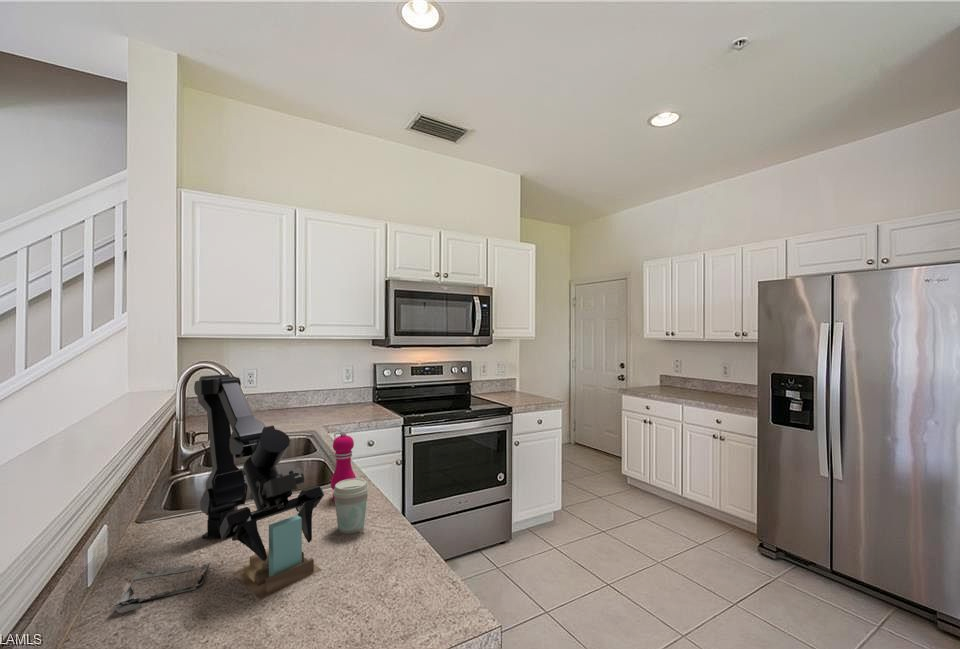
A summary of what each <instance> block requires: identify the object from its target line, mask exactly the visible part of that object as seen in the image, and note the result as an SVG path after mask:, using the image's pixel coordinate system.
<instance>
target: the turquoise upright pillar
mask: <svg viewBox="0 0 960 649" xmlns="http://www.w3.org/2000/svg"><path fill="white" fill-rule="evenodd" d="M302 537H303V531H302V518H301V517H299V516H298V514H297V515H293V516H291V517H288V518H285V519H281V520H279V521H277V522H273V523H270V524H269V525H268V548H269V577H270V576H273V575H275V574H277V573H279V572H282V571H284V570H286V569H288V568H291V567H293V566H295V565H297V564H300V563H302V552H303V548H302V547H303V546H302V545H303V542H302V541H303V539H302Z"/></svg>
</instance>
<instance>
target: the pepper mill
mask: <svg viewBox="0 0 960 649" xmlns="http://www.w3.org/2000/svg"><path fill="white" fill-rule="evenodd" d="M339 434H340V435H338V436H337V437H335V439H333V443H332V449H333V450H334V458H335V460H336V463H335V469H334V472H333V474H332V477H331V481H330V488H331V489H332V490H334V488H335V485H336V484H337V483H338V482H340V481H343V480H347V479H355V478H356V474H355V472H354V470H353V468H352V461H351V460H352V458H353V457H352V456H353V448H354V446H355V442H354V439H353V437H351V436H350V435H348V434H347V431H346V430H341V431H340V433H339ZM332 500H333V501H334V502H335V498H334V496H333V495H332Z"/></svg>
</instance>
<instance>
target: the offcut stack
mask: <svg viewBox="0 0 960 649" xmlns="http://www.w3.org/2000/svg"><path fill="white" fill-rule="evenodd" d="M265 550H266V554H267V559H266V560H265V561H263V560H262V559H261V558H260V557H259V556H257V555H256V554H255V553H254V554H253V555H250V556H249V562H246V563H244V564H243V569H244V573H245V574H246V575H247V576H248V577H249V578H250V579H251V580H252V581H253V582H255V581H256V571H257V570H260V569H262V568H264V567H267V566H269V547H267V548H265Z"/></svg>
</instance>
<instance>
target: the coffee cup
mask: <svg viewBox="0 0 960 649" xmlns="http://www.w3.org/2000/svg"><path fill="white" fill-rule="evenodd" d="M369 487H370V486H369V485H368V482H367V480H366V479H363V478H355V479H347V480H343V481H340V482H338V483H337V484H336V485H335V488H334V490H333V489H332V490H333V492H332V497H333V496H334V498H335V501H334V505H335V506H334V507H335V513H336V514H335V515H336V524H337V531H338V532H339V533H340V534H345V535H350V534H356V533H360V534H363V533H364V530H365V523H366V522H365V521H366V513H367V512H366V511H367V510H366V509H367V504H368V503H367V502H368V493H369V491H370V488H369Z"/></svg>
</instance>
